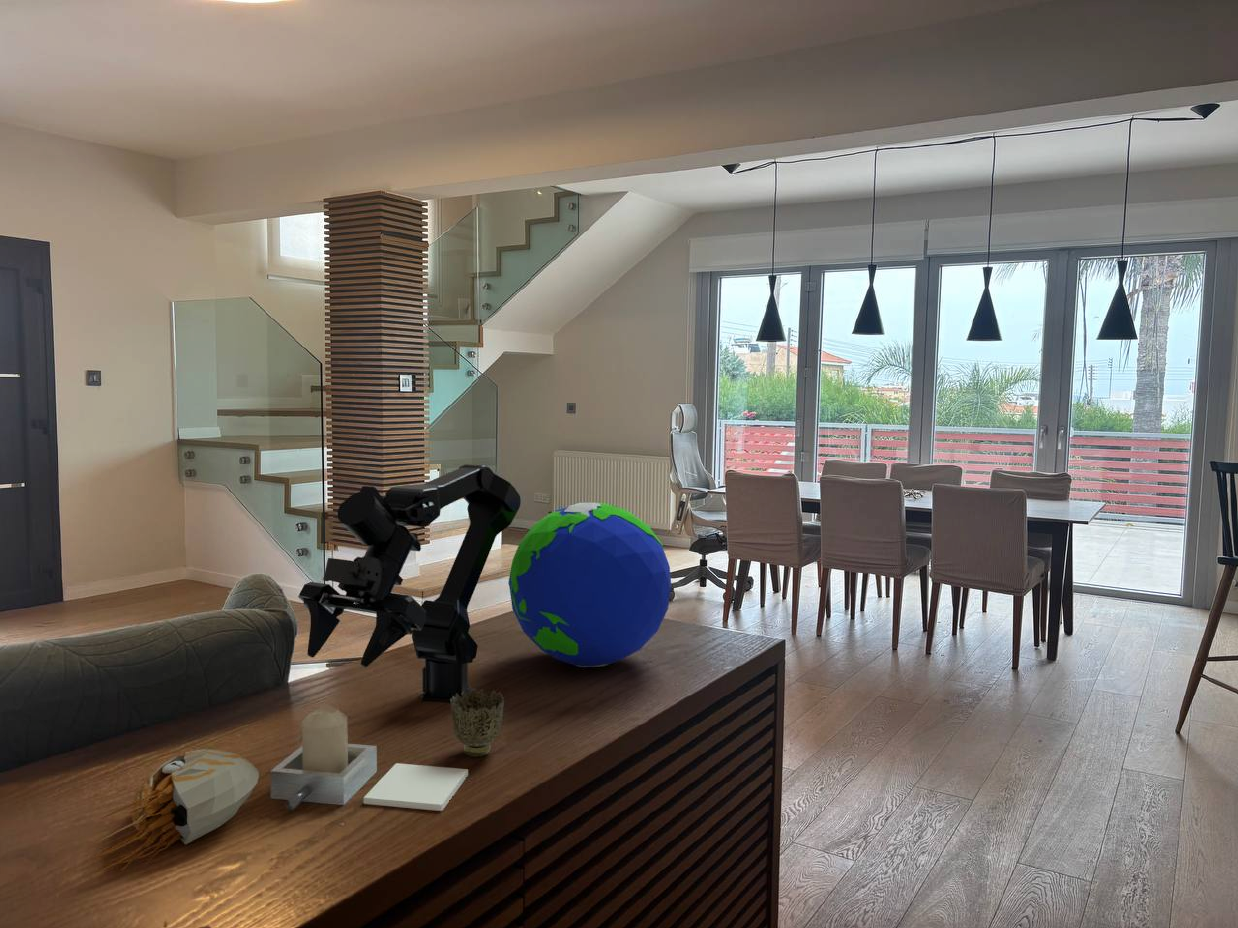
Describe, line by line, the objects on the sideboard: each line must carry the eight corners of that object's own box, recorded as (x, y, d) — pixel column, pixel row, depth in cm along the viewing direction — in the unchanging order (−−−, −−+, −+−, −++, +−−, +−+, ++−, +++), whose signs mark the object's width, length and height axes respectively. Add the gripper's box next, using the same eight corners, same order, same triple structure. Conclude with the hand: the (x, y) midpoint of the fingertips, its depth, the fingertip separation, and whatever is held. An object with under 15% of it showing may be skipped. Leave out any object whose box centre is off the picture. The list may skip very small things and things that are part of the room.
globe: (704, 668, 164) (708, 505, 161) (574, 704, 144) (576, 520, 142) (601, 631, 186) (603, 488, 183) (477, 658, 167) (477, 499, 164)
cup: (513, 746, 127) (513, 692, 127) (489, 767, 121) (489, 710, 120) (466, 739, 130) (466, 685, 129) (440, 759, 123) (440, 702, 122)
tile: (468, 775, 118) (468, 769, 118) (441, 810, 108) (441, 804, 108) (396, 768, 120) (396, 763, 120) (363, 803, 110) (363, 797, 110)
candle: (309, 775, 117) (308, 701, 116) (352, 774, 118) (351, 700, 117) (297, 794, 112) (296, 717, 111) (342, 793, 112) (341, 716, 111)
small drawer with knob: (376, 771, 119) (376, 745, 119) (328, 820, 105) (327, 792, 105) (309, 765, 120) (308, 740, 120) (252, 813, 107) (252, 785, 107)
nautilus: (137, 902, 90) (39, 874, 96) (293, 799, 109) (203, 781, 115) (127, 828, 89) (28, 805, 95) (286, 737, 108) (196, 723, 114)
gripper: (302, 527, 128) (249, 626, 120) (409, 539, 121) (360, 644, 113) (343, 566, 137) (296, 660, 129) (446, 579, 129) (402, 680, 121)
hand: (336, 661), depth 122 cm, fingers open, 9 cm apart
